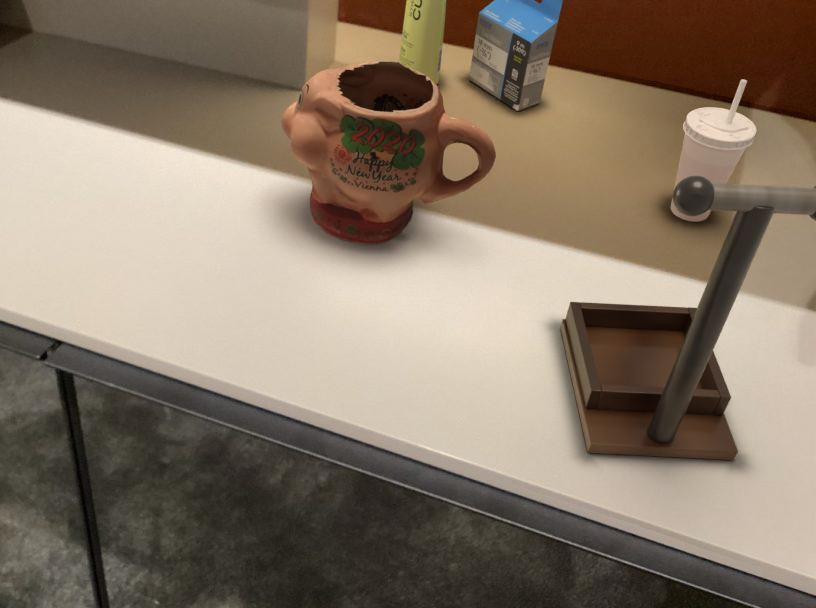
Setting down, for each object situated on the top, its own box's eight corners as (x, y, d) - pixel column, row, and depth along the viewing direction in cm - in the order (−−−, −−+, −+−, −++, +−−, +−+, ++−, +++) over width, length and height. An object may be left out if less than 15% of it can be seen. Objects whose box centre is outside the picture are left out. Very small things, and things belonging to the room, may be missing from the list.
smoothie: (721, 235, 93) (775, 102, 83) (654, 221, 95) (698, 89, 85) (723, 200, 98) (774, 70, 88) (658, 187, 99) (701, 58, 89)
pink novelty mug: (488, 202, 96) (513, 71, 86) (471, 275, 88) (497, 139, 78) (295, 169, 99) (298, 40, 90) (261, 236, 91) (261, 101, 81)
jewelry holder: (688, 333, 83) (791, 82, 66) (734, 460, 72) (869, 199, 56) (559, 327, 83) (631, 74, 67) (587, 453, 73) (680, 190, 56)
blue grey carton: (466, 80, 114) (482, -25, 106) (491, 72, 116) (509, -32, 107) (516, 112, 109) (538, 5, 101) (542, 103, 111) (565, -3, 102)
